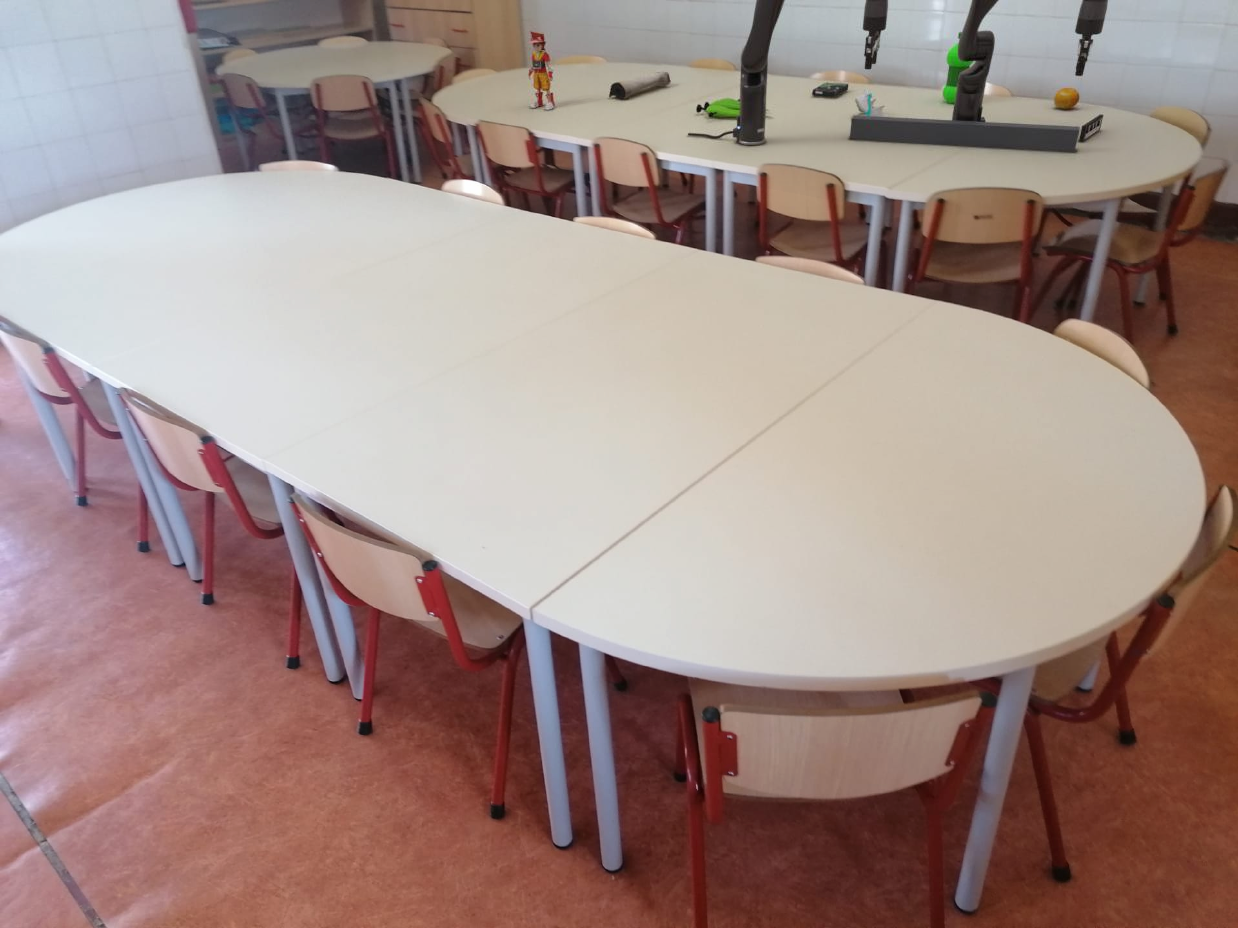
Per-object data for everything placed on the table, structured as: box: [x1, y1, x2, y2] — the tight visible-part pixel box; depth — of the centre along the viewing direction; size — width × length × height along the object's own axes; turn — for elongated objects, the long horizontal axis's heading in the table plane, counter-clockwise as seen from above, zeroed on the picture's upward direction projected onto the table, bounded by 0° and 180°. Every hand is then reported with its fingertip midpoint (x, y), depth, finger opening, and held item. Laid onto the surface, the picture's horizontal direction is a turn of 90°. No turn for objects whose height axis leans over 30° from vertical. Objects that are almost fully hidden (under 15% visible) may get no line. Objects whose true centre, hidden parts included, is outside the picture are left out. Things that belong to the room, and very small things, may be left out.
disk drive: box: [811, 82, 849, 99], centre depth 376 cm, size 10×3×15 cm
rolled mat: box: [608, 71, 672, 101], centre depth 395 cm, size 30×9×10 cm
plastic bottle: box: [942, 31, 974, 104], centre depth 348 cm, size 10×10×25 cm
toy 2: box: [696, 97, 771, 118], centre depth 355 cm, size 28×5×30 cm
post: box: [849, 115, 1081, 153], centre depth 307 cm, size 73×4×7 cm, turn 67°
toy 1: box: [527, 31, 556, 111], centre depth 374 cm, size 12×9×30 cm
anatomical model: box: [854, 89, 890, 117], centre depth 341 cm, size 15×10×10 cm
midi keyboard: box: [1078, 113, 1104, 142], centre depth 307 cm, size 18×1×5 cm, turn 138°
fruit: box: [1053, 87, 1080, 110], centre depth 337 cm, size 8×8×8 cm
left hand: (870, 66), depth 307 cm, fingers open, 8 cm apart
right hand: (1078, 73), depth 283 cm, fingers open, 8 cm apart
